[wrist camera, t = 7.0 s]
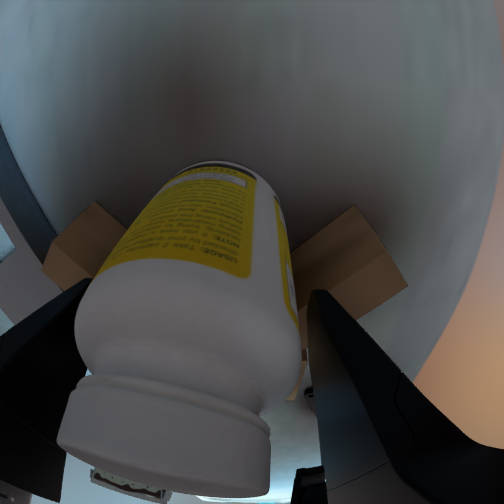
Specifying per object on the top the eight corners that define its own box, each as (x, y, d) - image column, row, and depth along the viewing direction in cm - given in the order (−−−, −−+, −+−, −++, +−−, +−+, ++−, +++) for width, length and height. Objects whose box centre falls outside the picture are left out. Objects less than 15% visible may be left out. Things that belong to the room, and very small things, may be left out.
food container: (124, 439, 33) (113, 490, 24) (102, 424, 29) (87, 480, 21) (193, 449, 31) (186, 508, 23) (175, 435, 28) (165, 504, 19)
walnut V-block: (338, 349, 16) (348, 396, 13) (121, 338, 16) (104, 380, 13) (384, 206, 11) (421, 252, 8) (72, 202, 11) (29, 241, 8)
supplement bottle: (134, 218, 11) (11, 423, 3) (219, 129, 9) (32, 391, 1) (219, 290, 14) (189, 498, 5) (310, 226, 11) (367, 485, 3)
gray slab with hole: (134, 333, 16) (124, 358, 14) (62, 346, 18) (53, 364, 16) (-13, 87, 7) (-38, 94, 5) (-55, 168, 9) (-72, 179, 7)
